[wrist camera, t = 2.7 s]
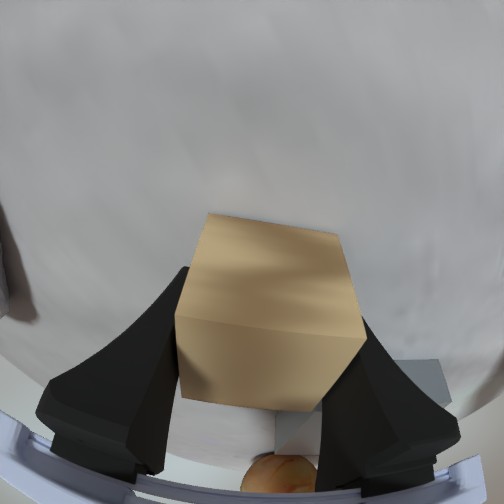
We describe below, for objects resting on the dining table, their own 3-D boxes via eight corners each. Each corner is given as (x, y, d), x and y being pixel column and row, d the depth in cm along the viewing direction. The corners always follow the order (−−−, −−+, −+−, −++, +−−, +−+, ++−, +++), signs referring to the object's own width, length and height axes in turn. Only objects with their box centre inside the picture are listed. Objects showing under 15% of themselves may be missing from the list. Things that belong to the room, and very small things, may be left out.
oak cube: (337, 234, 11) (367, 338, 7) (304, 318, 14) (310, 411, 10) (208, 213, 11) (174, 314, 7) (202, 304, 14) (181, 397, 10)
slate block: (437, 355, 17) (452, 401, 14) (376, 413, 23) (382, 449, 20) (310, 351, 17) (315, 411, 14) (275, 413, 23) (274, 454, 19)
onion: (235, 445, 29) (228, 520, 21) (321, 441, 27) (323, 520, 19) (250, 461, 34) (246, 521, 26) (320, 458, 33) (321, 520, 25)
